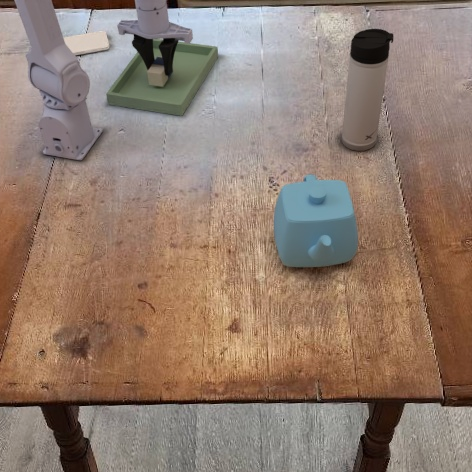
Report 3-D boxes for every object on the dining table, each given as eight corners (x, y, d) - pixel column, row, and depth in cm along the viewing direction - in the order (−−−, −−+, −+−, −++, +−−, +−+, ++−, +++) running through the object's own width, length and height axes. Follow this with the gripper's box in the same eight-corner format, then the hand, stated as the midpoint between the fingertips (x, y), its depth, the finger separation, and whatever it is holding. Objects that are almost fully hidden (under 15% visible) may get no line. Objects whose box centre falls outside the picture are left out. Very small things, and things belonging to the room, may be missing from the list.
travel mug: (376, 153, 121) (392, 46, 105) (339, 149, 122) (349, 43, 106) (379, 132, 124) (395, 26, 109) (343, 129, 125) (353, 23, 110)
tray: (182, 116, 130) (180, 105, 128) (108, 104, 133) (105, 93, 132) (218, 57, 143) (217, 46, 141) (149, 48, 146) (148, 37, 144)
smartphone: (37, 41, 148) (105, 30, 150) (38, 45, 149) (106, 33, 150) (39, 58, 144) (109, 46, 145) (40, 62, 144) (110, 49, 146)
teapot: (282, 300, 100) (283, 244, 91) (269, 217, 112) (269, 160, 102) (365, 293, 101) (374, 237, 92) (344, 211, 112) (350, 154, 103)
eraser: (163, 87, 134) (161, 73, 132) (148, 84, 135) (146, 71, 132) (174, 70, 138) (172, 57, 135) (159, 68, 138) (157, 55, 136)
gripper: (195, -3, 125) (201, 65, 136) (123, -11, 128) (135, 56, 139) (182, 16, 121) (189, 85, 132) (108, 7, 124) (121, 75, 135)
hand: (160, 71), depth 135 cm, fingers closed on eraser, 3 cm apart
